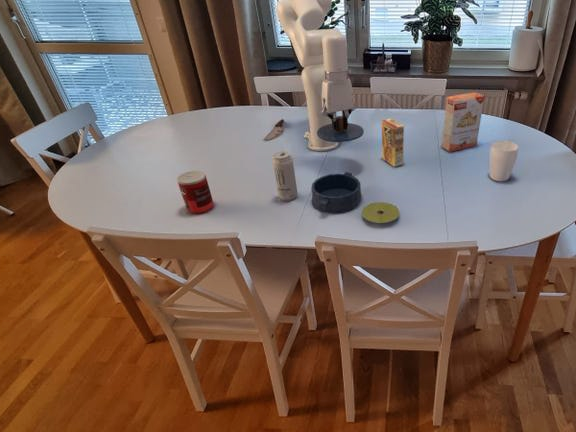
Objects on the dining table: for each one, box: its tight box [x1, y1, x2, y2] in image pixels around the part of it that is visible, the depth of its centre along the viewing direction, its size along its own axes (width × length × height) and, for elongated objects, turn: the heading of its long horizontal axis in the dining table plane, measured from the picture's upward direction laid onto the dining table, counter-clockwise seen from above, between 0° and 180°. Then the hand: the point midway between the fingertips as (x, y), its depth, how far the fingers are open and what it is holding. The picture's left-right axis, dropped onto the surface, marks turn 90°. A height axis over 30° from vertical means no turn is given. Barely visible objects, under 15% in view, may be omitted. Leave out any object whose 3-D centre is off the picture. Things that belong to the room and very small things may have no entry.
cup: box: [489, 140, 519, 182], centre depth 135 cm, size 9×9×12 cm
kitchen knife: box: [263, 118, 285, 141], centre depth 174 cm, size 21×2×5 cm
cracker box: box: [441, 91, 485, 153], centre depth 154 cm, size 14×6×21 cm, turn 118°
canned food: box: [176, 170, 214, 215], centre depth 119 cm, size 8×8×11 cm
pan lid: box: [317, 115, 365, 143], centre depth 136 cm, size 16×16×6 cm
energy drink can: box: [272, 151, 298, 202], centre depth 123 cm, size 6×6×15 cm
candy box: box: [381, 118, 405, 168], centre depth 145 cm, size 9×4×15 cm, turn 33°
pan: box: [310, 171, 362, 214], centre depth 124 cm, size 15×21×6 cm
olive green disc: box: [361, 201, 400, 224], centre depth 117 cm, size 11×11×2 cm
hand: (340, 129), depth 136 cm, fingers closed on pan lid, 2 cm apart
